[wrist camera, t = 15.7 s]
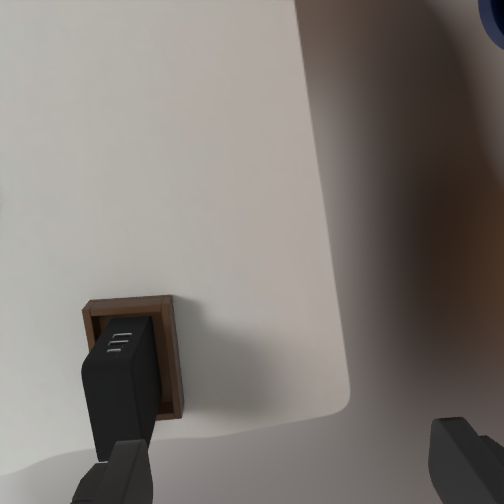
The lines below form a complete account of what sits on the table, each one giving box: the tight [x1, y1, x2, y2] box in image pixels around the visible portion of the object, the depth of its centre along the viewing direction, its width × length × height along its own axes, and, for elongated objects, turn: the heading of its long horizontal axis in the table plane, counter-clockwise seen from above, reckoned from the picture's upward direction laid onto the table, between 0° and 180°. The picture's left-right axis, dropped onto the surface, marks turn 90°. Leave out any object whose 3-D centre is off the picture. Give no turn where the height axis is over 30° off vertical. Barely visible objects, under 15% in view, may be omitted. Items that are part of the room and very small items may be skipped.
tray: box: [82, 295, 184, 421], centre depth 44 cm, size 9×14×2 cm, turn 3°
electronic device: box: [81, 316, 162, 462], centre depth 39 cm, size 4×10×10 cm, turn 3°
